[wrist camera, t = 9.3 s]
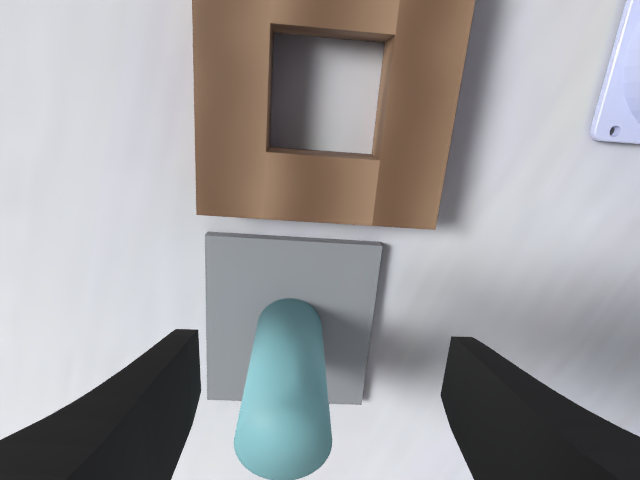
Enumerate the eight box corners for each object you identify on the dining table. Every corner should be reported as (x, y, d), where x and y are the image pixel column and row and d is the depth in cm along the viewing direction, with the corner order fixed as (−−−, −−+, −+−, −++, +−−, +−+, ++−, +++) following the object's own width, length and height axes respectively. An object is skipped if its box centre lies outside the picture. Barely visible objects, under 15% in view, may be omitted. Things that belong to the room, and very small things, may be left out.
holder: (461, -28, 18) (483, -45, 15) (422, 217, 21) (435, 229, 19) (204, -55, 17) (190, -77, 15) (207, 203, 20) (196, 214, 18)
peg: (318, 294, 21) (327, 398, 14) (324, 350, 23) (335, 475, 15) (252, 301, 21) (226, 409, 14) (262, 357, 23) (242, 485, 15)
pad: (380, 242, 21) (382, 245, 21) (360, 397, 24) (361, 404, 24) (207, 231, 21) (204, 235, 20) (209, 392, 24) (207, 399, 23)
